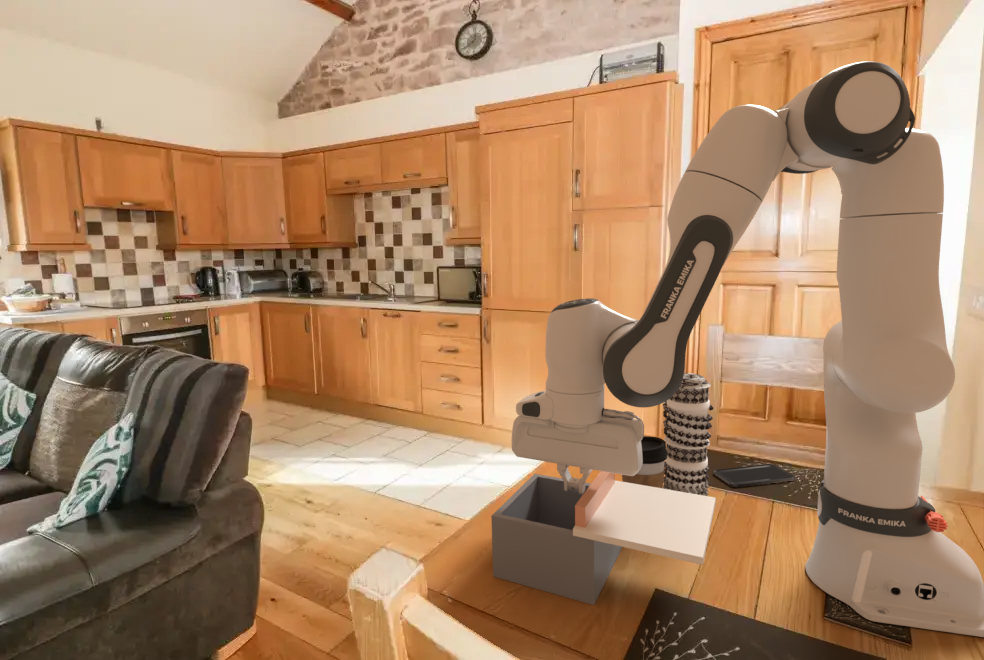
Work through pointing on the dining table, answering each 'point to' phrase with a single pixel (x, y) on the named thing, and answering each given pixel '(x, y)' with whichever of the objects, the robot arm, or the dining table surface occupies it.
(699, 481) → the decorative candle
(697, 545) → the lid
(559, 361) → the robot arm
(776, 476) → the phone
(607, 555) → the storage box
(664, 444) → the coffee cup
